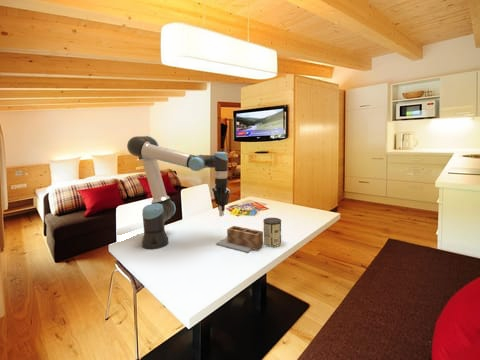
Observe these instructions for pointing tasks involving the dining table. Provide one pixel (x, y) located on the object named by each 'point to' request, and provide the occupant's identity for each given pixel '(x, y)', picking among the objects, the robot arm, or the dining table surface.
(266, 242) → the coffee can
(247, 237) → the wooden hollow block
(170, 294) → the dining table surface
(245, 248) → the peg board
